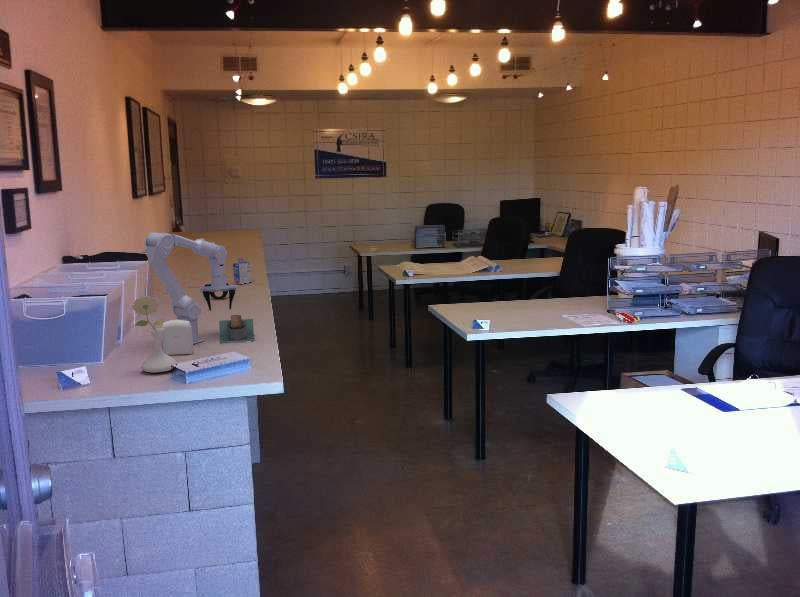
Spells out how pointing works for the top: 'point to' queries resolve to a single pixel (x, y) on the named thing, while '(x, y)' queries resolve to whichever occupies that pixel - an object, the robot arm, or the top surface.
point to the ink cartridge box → (242, 272)
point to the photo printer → (177, 337)
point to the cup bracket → (236, 332)
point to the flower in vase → (158, 358)
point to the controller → (215, 295)
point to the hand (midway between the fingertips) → (220, 309)
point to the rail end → (236, 322)
